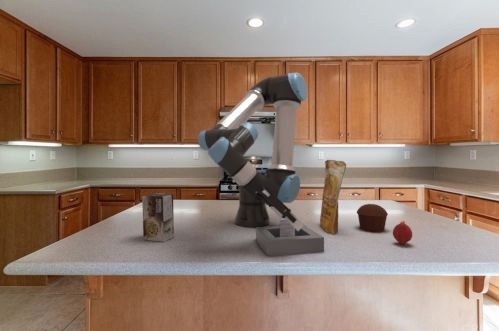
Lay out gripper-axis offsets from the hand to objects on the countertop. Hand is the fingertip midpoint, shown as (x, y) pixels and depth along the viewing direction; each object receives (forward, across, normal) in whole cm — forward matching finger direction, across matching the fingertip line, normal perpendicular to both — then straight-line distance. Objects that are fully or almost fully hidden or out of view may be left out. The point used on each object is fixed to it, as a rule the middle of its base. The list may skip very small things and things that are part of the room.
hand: (292, 222), depth 92 cm
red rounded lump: (+31, +7, +20) cm, 38 cm away
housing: (+4, 0, -7) cm, 8 cm away
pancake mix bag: (+21, -16, +10) cm, 29 cm away
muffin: (+33, -12, +22) cm, 41 cm away
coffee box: (-26, -17, -37) cm, 49 cm away
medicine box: (+4, 0, -6) cm, 7 cm away
